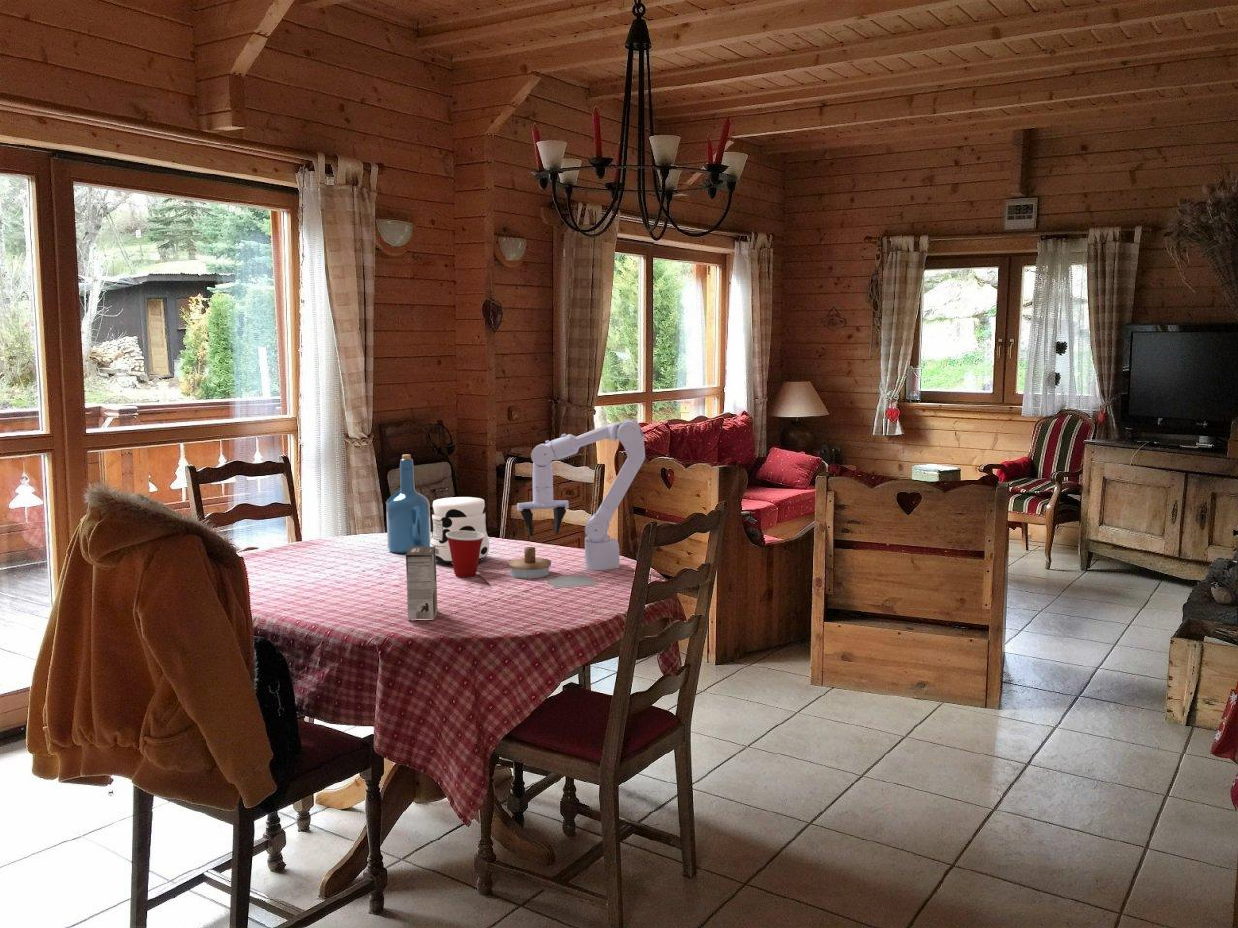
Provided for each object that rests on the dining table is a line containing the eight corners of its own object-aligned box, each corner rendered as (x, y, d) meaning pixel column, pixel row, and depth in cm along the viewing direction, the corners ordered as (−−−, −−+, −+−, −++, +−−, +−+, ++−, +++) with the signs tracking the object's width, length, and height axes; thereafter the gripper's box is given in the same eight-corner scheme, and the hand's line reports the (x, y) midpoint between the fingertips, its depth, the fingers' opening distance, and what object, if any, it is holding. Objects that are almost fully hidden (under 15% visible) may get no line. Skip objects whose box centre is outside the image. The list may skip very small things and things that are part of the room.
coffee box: (411, 611, 249) (409, 546, 247) (438, 610, 249) (436, 545, 247) (407, 621, 240) (404, 554, 238) (434, 620, 240) (432, 553, 238)
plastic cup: (478, 580, 279) (477, 537, 277) (440, 579, 281) (439, 536, 279) (491, 571, 289) (490, 530, 288) (455, 570, 292) (453, 528, 290)
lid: (543, 558, 289) (542, 542, 289) (557, 567, 279) (556, 550, 278) (503, 562, 285) (503, 545, 284) (516, 571, 274) (516, 553, 274)
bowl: (542, 571, 289) (542, 559, 288) (552, 579, 280) (552, 566, 279) (507, 574, 286) (507, 562, 285) (516, 582, 276) (516, 570, 276)
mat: (585, 577, 281) (585, 574, 281) (599, 587, 270) (599, 584, 270) (543, 581, 277) (543, 578, 277) (555, 592, 266) (555, 588, 266)
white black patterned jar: (496, 555, 310) (495, 497, 308) (479, 568, 294) (477, 506, 291) (442, 553, 314) (440, 495, 311) (421, 566, 297) (420, 505, 294)
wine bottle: (437, 546, 324) (434, 452, 320) (420, 555, 311) (417, 457, 307) (398, 544, 327) (394, 451, 323) (379, 553, 314) (375, 456, 310)
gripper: (521, 490, 281) (522, 538, 283) (571, 487, 286) (572, 535, 288) (515, 486, 288) (515, 533, 290) (564, 483, 293) (564, 530, 295)
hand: (543, 534), depth 289 cm, fingers open, 7 cm apart
